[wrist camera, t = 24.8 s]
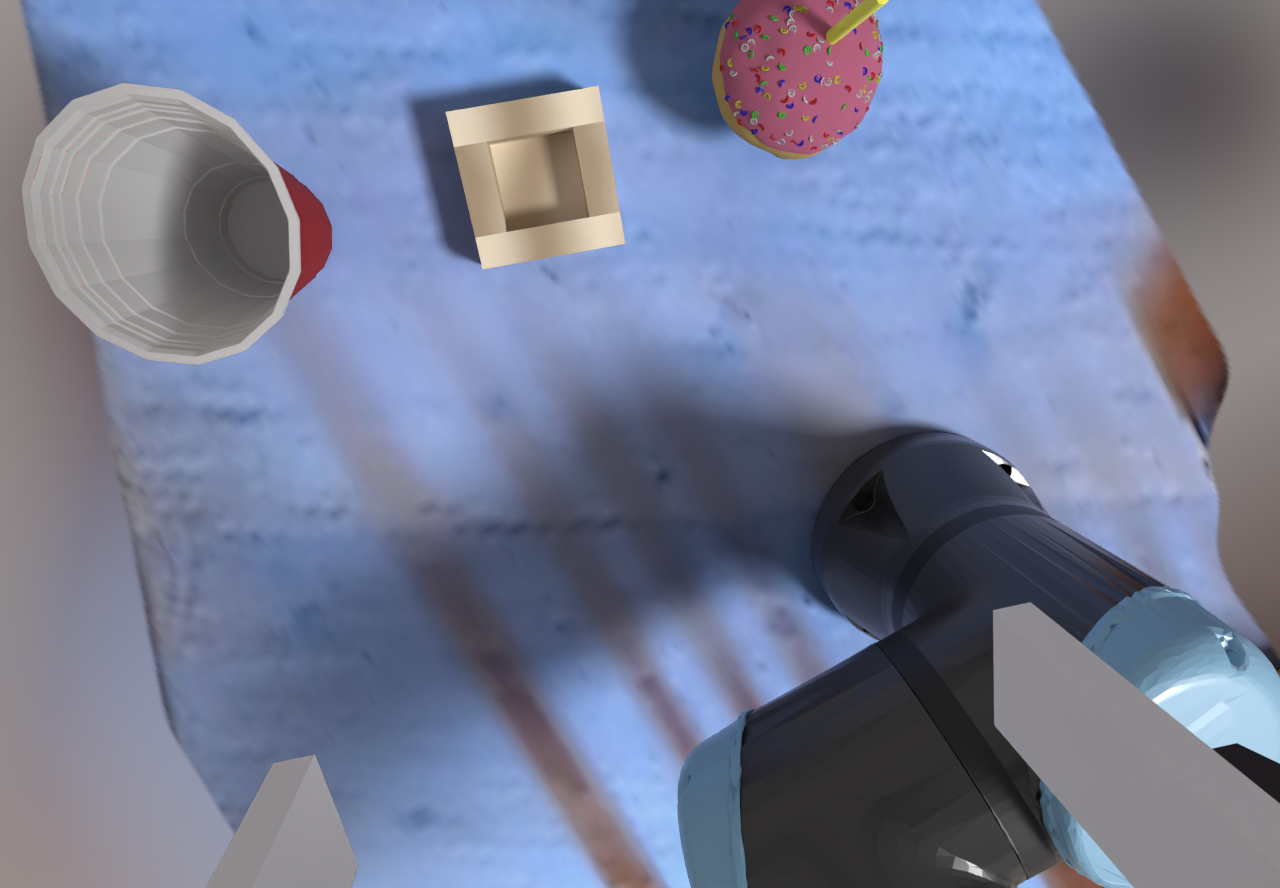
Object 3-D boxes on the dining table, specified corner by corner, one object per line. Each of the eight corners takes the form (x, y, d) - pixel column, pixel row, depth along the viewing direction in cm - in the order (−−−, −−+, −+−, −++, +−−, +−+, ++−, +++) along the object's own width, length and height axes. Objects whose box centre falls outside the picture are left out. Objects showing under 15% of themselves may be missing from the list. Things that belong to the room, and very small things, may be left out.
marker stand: (596, 94, 39) (598, 85, 36) (621, 242, 41) (625, 243, 39) (452, 119, 38) (445, 111, 36) (487, 266, 41) (482, 269, 38)
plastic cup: (185, 94, 37) (14, 35, 25) (394, 162, 39) (323, 136, 27) (159, 295, 39) (-5, 323, 28) (355, 349, 41) (276, 396, 30)
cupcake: (772, -40, 38) (863, -155, 26) (876, 77, 40) (1001, 18, 29) (667, 91, 39) (711, 35, 28) (774, 197, 41) (854, 186, 30)
